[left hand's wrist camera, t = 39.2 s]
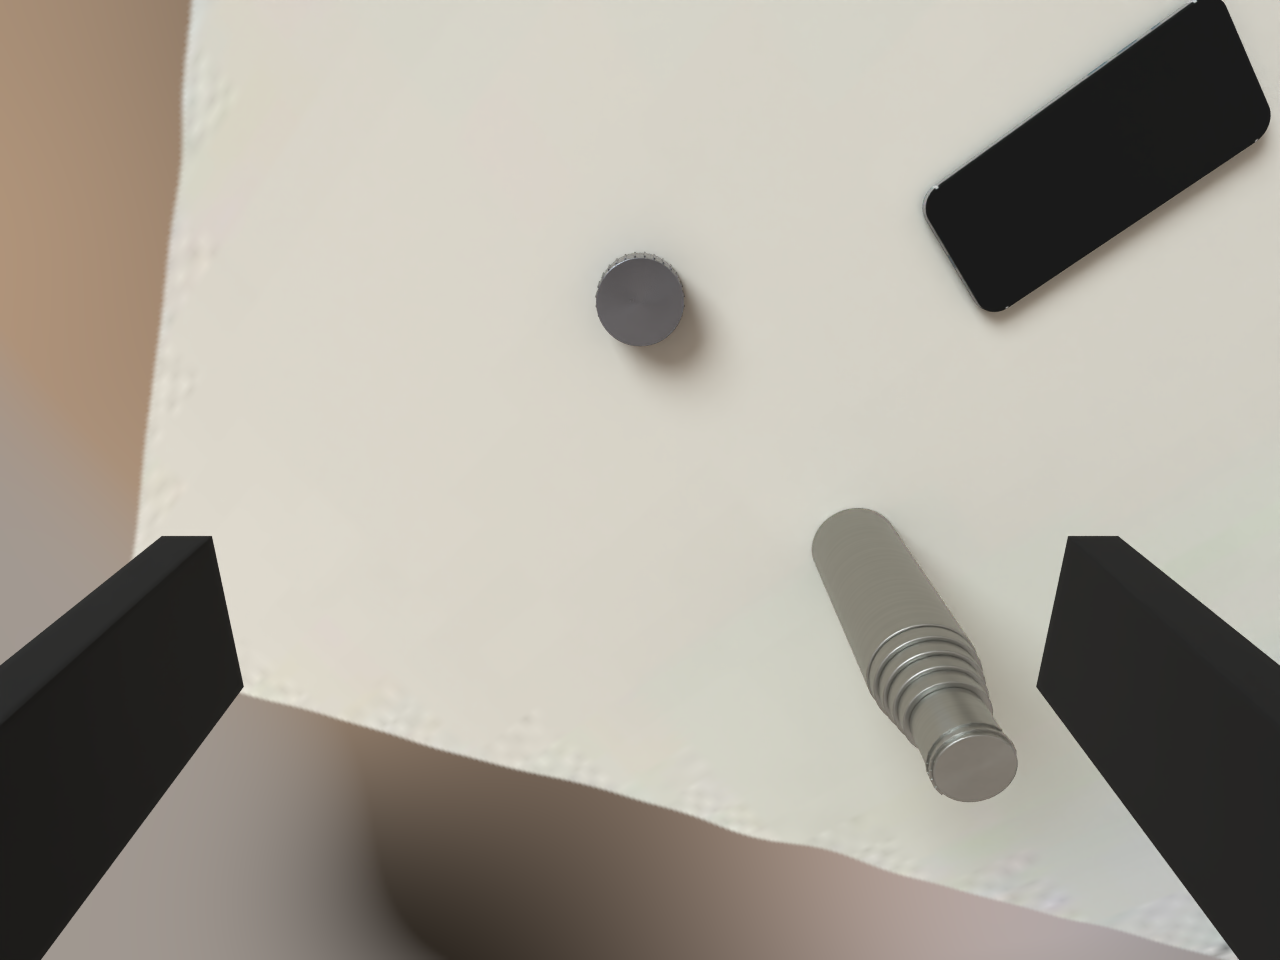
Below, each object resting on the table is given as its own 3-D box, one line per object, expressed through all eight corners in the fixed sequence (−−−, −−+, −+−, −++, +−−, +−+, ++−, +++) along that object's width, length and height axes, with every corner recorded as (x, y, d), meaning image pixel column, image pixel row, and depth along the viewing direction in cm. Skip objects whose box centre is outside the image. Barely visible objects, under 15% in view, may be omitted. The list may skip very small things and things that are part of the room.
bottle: (861, 491, 46) (992, 691, 29) (913, 547, 47) (1068, 771, 30) (794, 544, 47) (882, 767, 30) (846, 598, 48) (959, 841, 31)
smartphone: (917, 199, 39) (1217, -18, 36) (912, 198, 40) (1207, -15, 37) (989, 321, 42) (1279, 128, 38) (984, 319, 42) (1269, 128, 39)
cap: (598, 338, 43) (596, 347, 41) (596, 251, 41) (593, 256, 39) (682, 337, 43) (684, 347, 41) (683, 251, 41) (685, 256, 39)
